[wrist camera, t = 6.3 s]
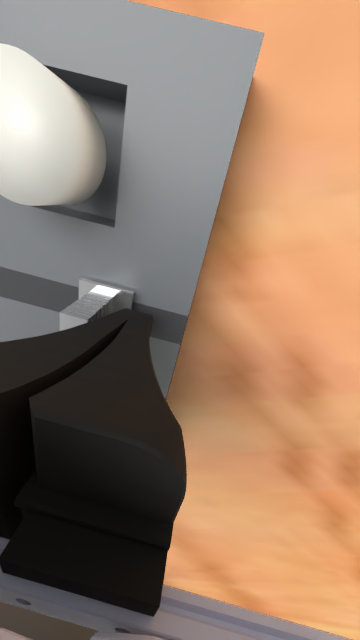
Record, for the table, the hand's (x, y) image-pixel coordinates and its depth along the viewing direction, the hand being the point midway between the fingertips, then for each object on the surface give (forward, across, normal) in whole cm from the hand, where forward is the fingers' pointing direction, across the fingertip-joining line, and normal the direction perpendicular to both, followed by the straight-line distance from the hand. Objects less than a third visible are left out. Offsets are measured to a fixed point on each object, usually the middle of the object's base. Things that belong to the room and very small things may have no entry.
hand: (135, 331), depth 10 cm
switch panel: (+4, +4, 0) cm, 5 cm away
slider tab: (+1, +2, 0) cm, 2 cm away
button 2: (+1, +4, -6) cm, 7 cm away
